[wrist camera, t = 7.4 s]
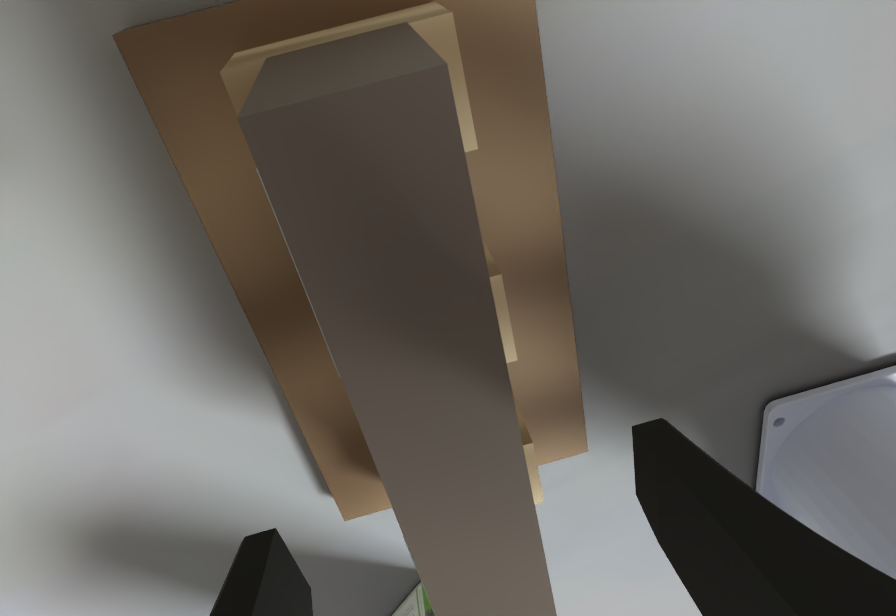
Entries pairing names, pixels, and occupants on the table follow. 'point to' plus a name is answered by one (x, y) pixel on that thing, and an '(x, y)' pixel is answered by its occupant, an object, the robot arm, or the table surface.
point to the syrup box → (415, 604)
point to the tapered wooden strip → (405, 303)
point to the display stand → (492, 179)
